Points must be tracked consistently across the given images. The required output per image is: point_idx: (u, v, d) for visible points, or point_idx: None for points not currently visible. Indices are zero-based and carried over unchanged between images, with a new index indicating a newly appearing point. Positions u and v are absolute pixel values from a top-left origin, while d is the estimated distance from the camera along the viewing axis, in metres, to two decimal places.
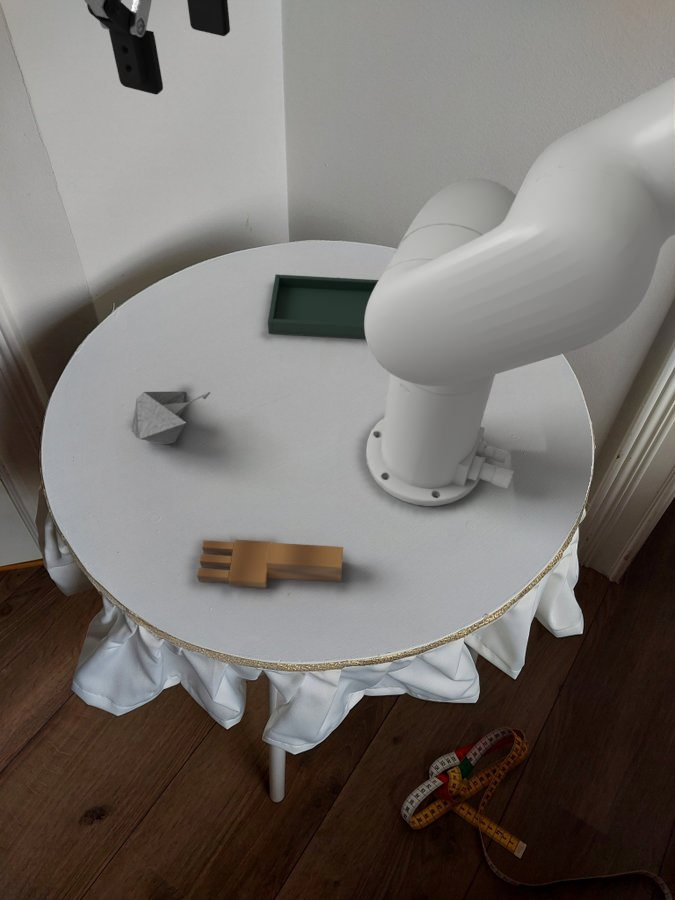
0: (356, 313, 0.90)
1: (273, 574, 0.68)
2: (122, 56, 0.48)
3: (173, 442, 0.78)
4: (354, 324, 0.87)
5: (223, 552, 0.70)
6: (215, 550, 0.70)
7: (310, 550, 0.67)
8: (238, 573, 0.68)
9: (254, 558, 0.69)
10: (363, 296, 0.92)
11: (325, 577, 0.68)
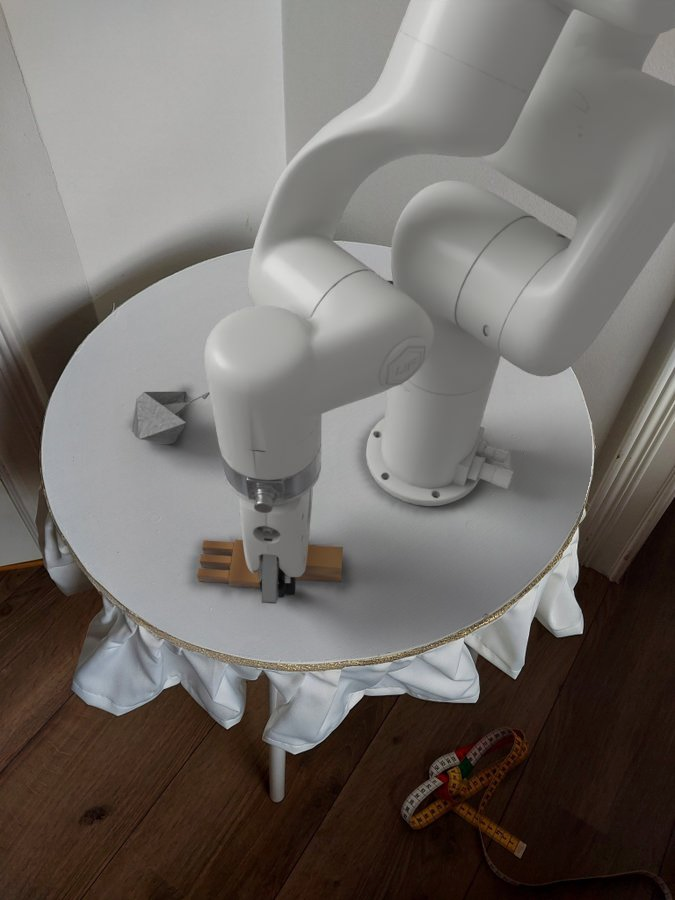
0: None
1: None
2: None
3: (173, 442, 0.78)
4: None
5: (223, 552, 0.70)
6: (215, 550, 0.70)
7: (310, 550, 0.67)
8: (238, 573, 0.68)
9: None
10: None
11: (325, 577, 0.68)
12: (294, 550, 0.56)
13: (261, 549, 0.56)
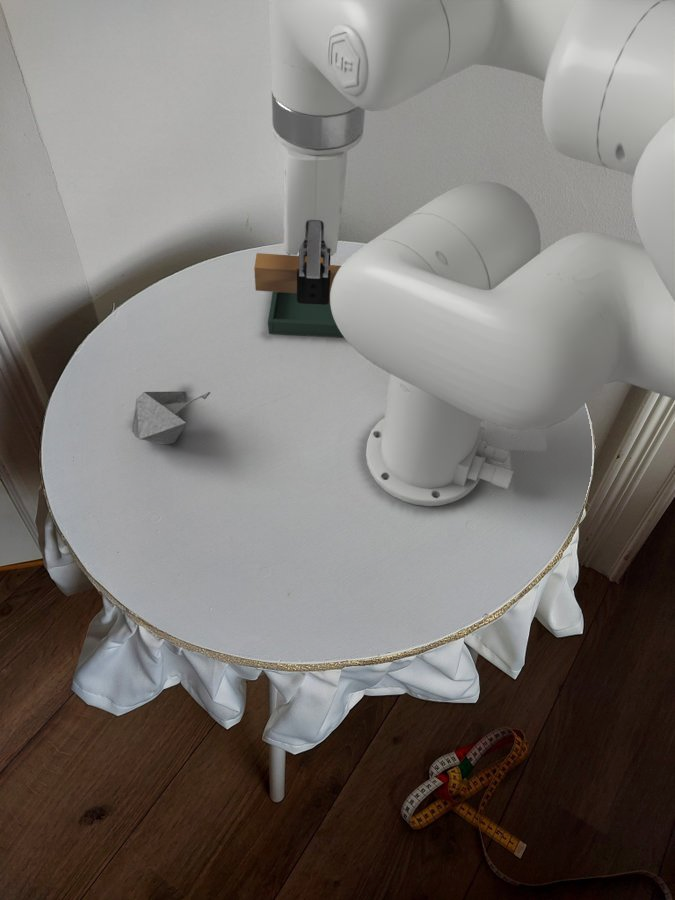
0: None
1: None
2: None
3: (173, 442, 0.78)
4: None
5: None
6: None
7: (285, 265, 0.71)
8: None
9: None
10: None
11: None
12: None
13: None
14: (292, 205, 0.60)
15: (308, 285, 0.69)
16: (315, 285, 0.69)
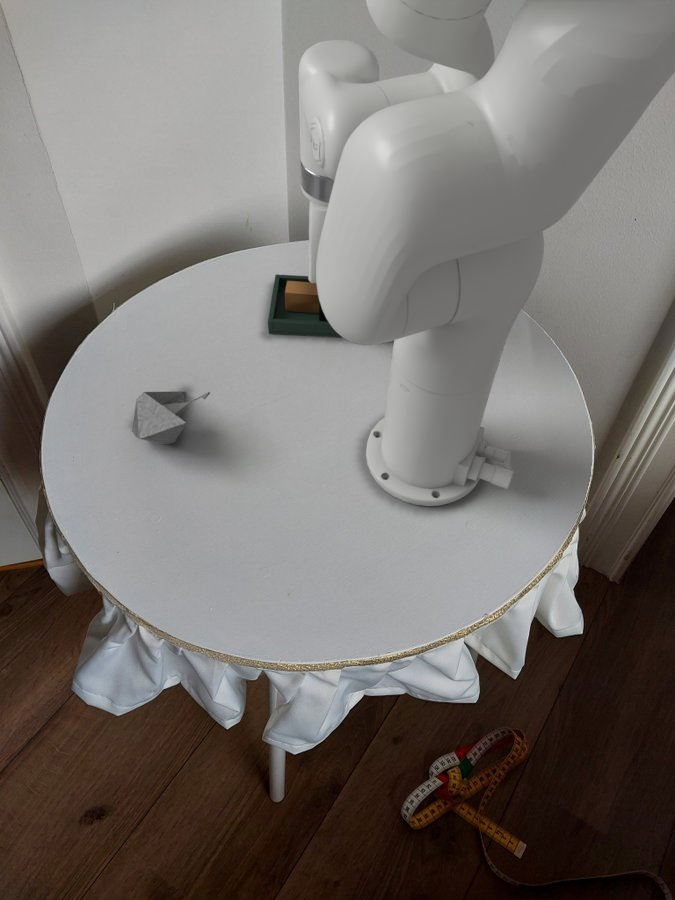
0: None
1: None
2: None
3: (173, 442, 0.78)
4: None
5: None
6: None
7: (310, 290, 0.88)
8: None
9: None
10: None
11: None
12: None
13: None
14: (315, 245, 0.77)
15: None
16: None
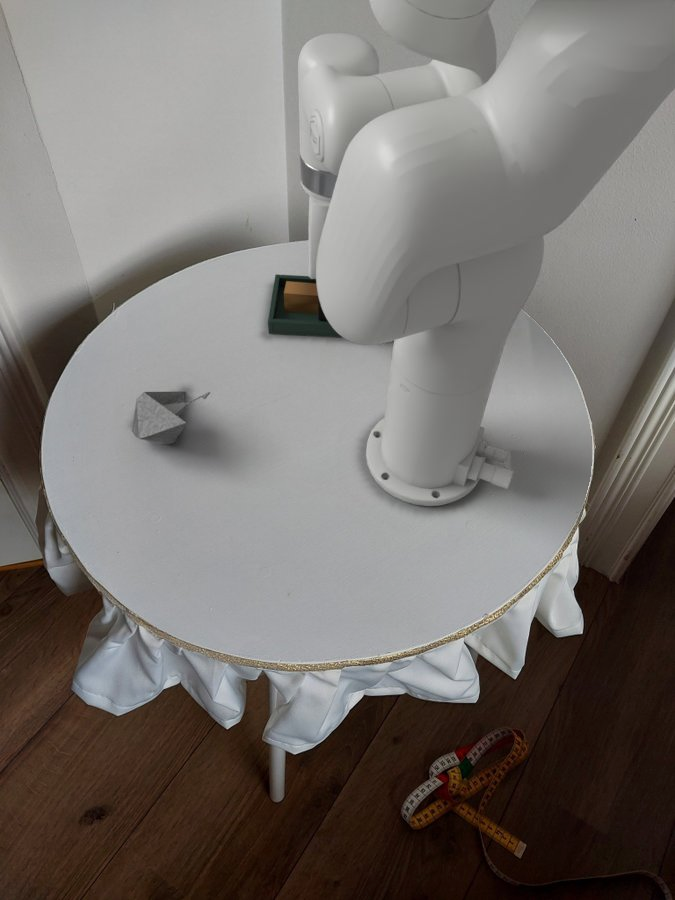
0: None
1: None
2: None
3: (173, 442, 0.78)
4: None
5: None
6: None
7: (309, 291, 0.88)
8: None
9: None
10: None
11: None
12: None
13: None
14: (314, 240, 0.76)
15: None
16: None
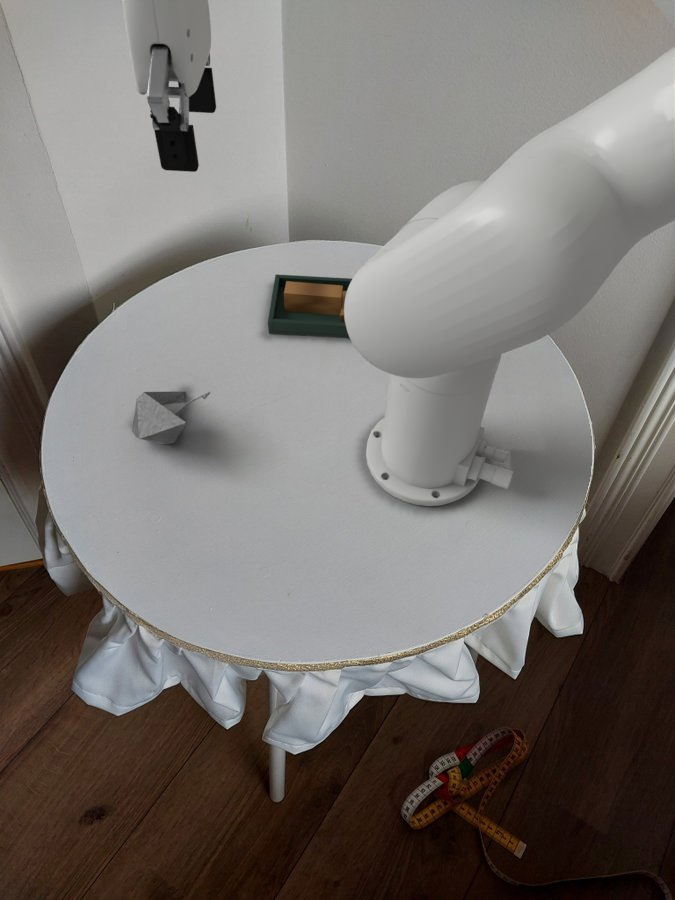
0: None
1: None
2: None
3: (173, 442, 0.78)
4: None
5: None
6: None
7: (309, 291, 0.88)
8: None
9: None
10: None
11: None
12: None
13: None
14: (131, 24, 0.54)
15: (167, 142, 0.60)
16: (175, 142, 0.60)
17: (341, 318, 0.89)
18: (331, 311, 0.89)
